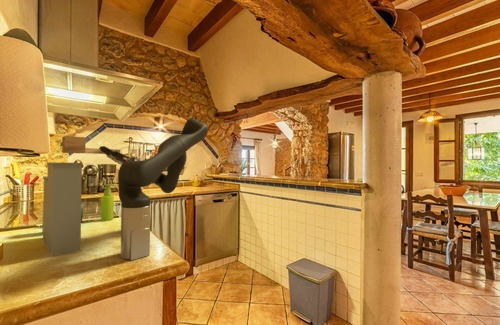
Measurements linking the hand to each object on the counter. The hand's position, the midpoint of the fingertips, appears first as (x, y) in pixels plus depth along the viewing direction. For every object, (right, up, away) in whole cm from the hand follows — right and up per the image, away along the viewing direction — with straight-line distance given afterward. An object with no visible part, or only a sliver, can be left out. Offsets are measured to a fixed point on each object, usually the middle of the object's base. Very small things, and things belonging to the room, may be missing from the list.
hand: (100, 148), depth 94 cm
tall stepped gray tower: (-13, -38, -5) cm, 40 cm away
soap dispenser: (-18, -38, +33) cm, 54 cm away
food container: (-30, -38, +25) cm, 55 cm away
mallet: (-2, -2, -2) cm, 3 cm away
